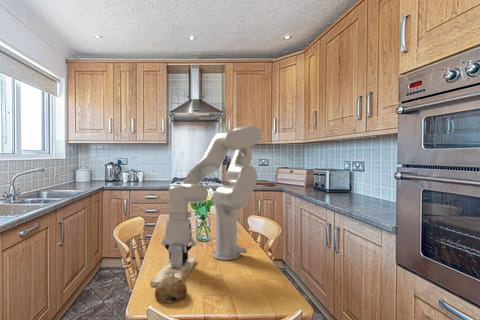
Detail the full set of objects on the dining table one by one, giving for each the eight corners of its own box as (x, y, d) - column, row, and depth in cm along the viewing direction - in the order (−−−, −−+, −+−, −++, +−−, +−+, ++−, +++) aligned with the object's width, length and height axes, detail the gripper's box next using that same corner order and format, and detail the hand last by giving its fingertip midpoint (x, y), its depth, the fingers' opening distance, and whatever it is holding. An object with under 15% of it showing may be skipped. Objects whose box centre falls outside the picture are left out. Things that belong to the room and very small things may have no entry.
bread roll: (156, 315, 92) (158, 297, 89) (152, 288, 101) (153, 271, 97) (188, 308, 96) (190, 290, 93) (181, 283, 105) (183, 266, 101)
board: (195, 261, 127) (195, 258, 127) (178, 287, 103) (178, 282, 103) (172, 261, 128) (172, 257, 128) (150, 285, 104) (150, 281, 104)
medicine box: (181, 267, 117) (181, 245, 116) (170, 267, 117) (170, 245, 117) (187, 260, 125) (187, 239, 124) (176, 259, 125) (176, 239, 125)
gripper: (201, 214, 123) (201, 258, 123) (161, 213, 125) (161, 257, 125) (196, 218, 115) (196, 265, 116) (154, 217, 117) (154, 263, 118)
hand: (178, 260), depth 120 cm, fingers closed on medicine box, 4 cm apart
